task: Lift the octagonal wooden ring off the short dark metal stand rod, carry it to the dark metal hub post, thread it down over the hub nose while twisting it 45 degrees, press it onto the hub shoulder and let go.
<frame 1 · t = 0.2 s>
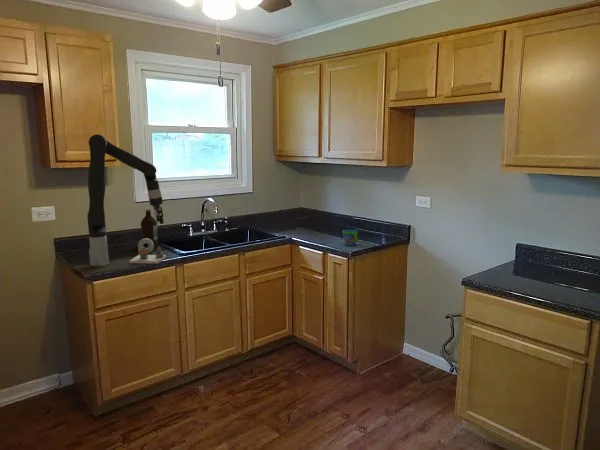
hand: (160, 222, 274), 22 cm above the countertop, tool pointing down, fingers open, 8 cm apart
snack cup: (350, 245, 310), on the countertop
board: (148, 260, 272), on the countertop
donut: (146, 253, 289), on the countertop
hub post: (159, 259, 274), resting on board
olive oil: (150, 245, 309), on the countertop
ring: (143, 252, 270), point 5 cm above the countertop, touching stand rod
stand rod: (144, 260, 271), resting on board
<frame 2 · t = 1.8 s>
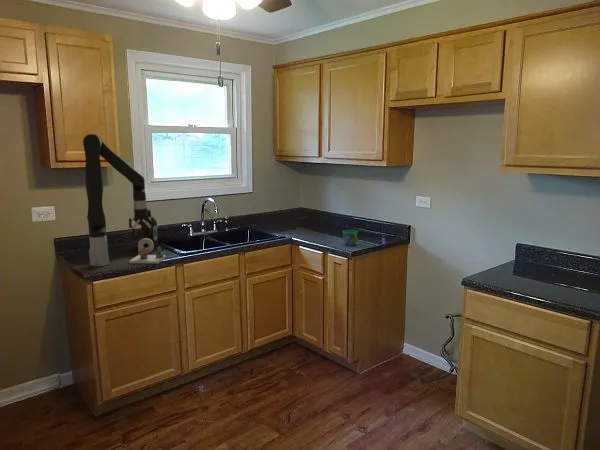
hand: (142, 234, 268), 16 cm above the countertop, tool pointing down, fingers open, 8 cm apart
nothing on the countertop moved.
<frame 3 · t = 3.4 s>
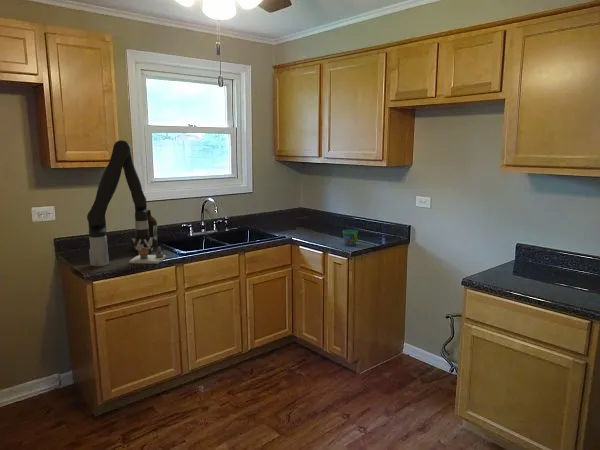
hand: (143, 254, 271), 4 cm above the countertop, tool pointing down, fingers closed on ring, 6 cm apart
ring: (143, 252, 270), point 5 cm above the countertop, touching gripper, stand rod
everything else where it was.
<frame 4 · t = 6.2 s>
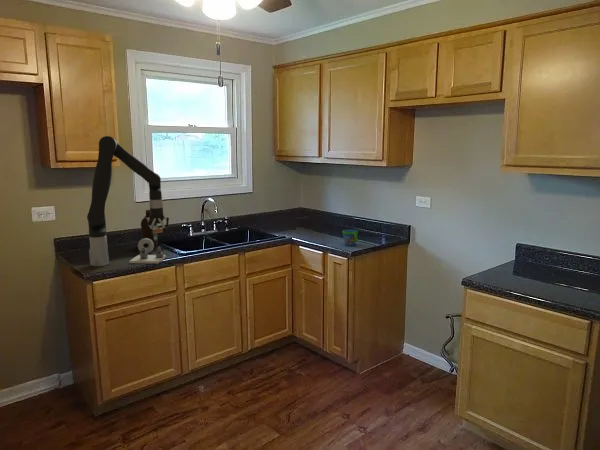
hand: (158, 234, 271), 16 cm above the countertop, tool pointing down, fingers closed on ring, 6 cm apart
ring: (157, 231, 271), point 17 cm above the countertop, touching gripper
everything else where it was.
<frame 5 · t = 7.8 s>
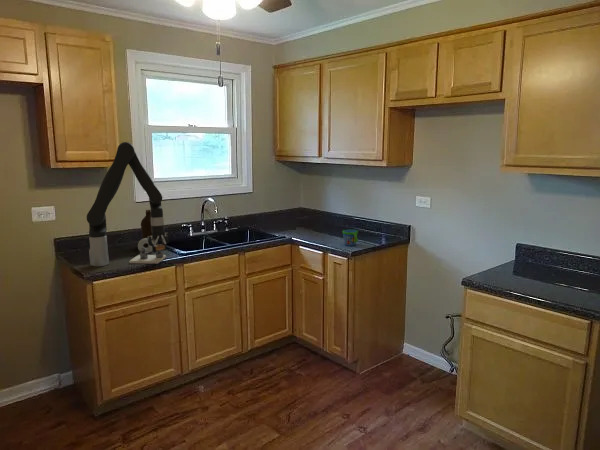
hand: (159, 251, 273), 5 cm above the countertop, tool pointing down, fingers closed on ring, 6 cm apart
ring: (159, 248, 273), point 7 cm above the countertop, touching gripper
everything else where it was.
when the fingers open (3 cm above the countertop, at t = 9.1 s): ring stays where it is, resting on hub post.
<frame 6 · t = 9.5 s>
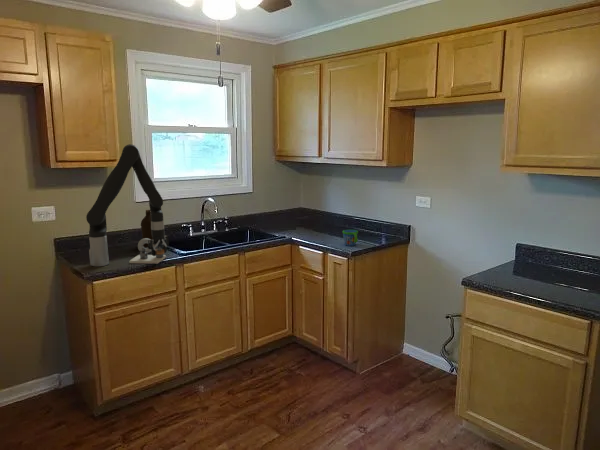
hand: (159, 254, 273), 3 cm above the countertop, tool pointing down, fingers open, 8 cm apart
ring: (159, 253, 273), point 4 cm above the countertop, touching hub post
everything else where it was.
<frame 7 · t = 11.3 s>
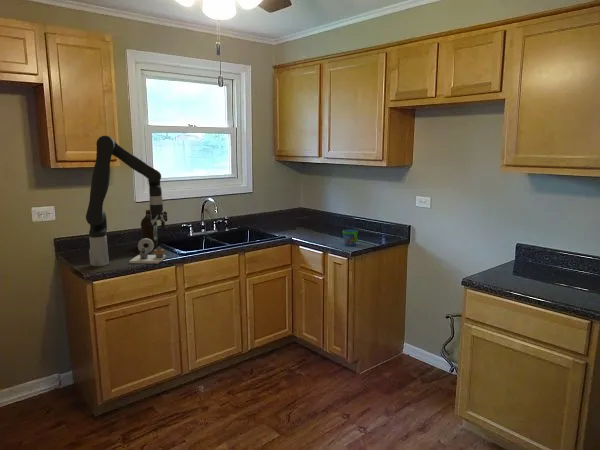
hand: (157, 229, 271), 18 cm above the countertop, tool pointing down, fingers open, 8 cm apart
nothing on the countertop moved.
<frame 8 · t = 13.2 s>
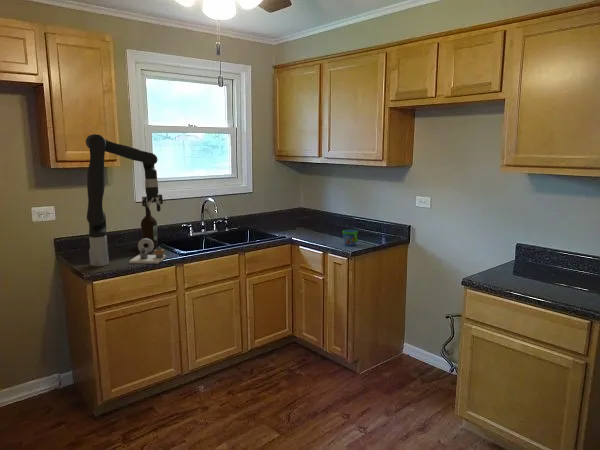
hand: (153, 212, 276), 28 cm above the countertop, tool pointing down, fingers open, 8 cm apart
nothing on the countertop moved.
at the end: ring 0.0 cm off-centre on the hub post, point 4.0 cm above the hub post's base; ring tilted 0°; the gripper is holding nothing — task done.
